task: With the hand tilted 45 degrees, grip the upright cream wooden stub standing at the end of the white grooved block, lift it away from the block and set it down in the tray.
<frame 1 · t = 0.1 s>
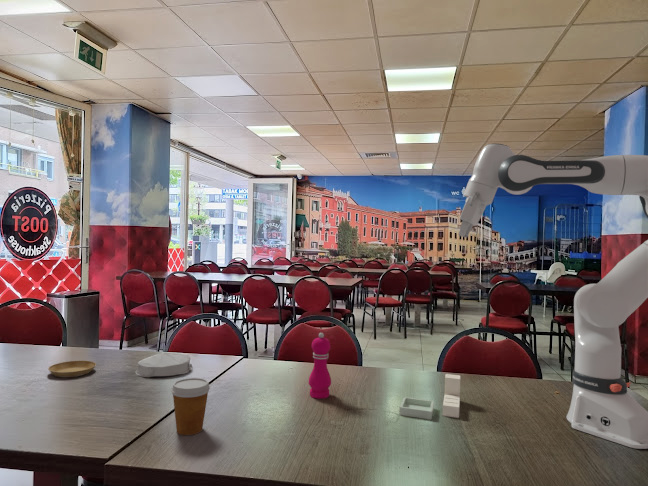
hand: (462, 236, 138), 52 cm above the table, tool tilted 20°, fingers open, 8 cm apart
plant saucer: (72, 373, 156), on the table
pepper mill: (319, 396, 140), on the table
stub tray: (416, 411, 129), on the table
disposable coffee cup: (189, 430, 112), on the table
white grooved block: (451, 410, 130), on the table
stub: (452, 401, 138), on the table
food container: (164, 371, 162), on the table
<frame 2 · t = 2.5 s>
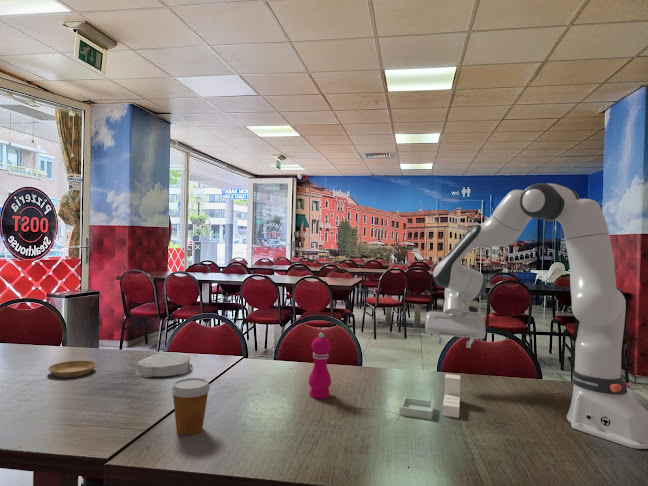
hand: (453, 345, 149), 15 cm above the table, tool tilted 45°, fingers open, 8 cm apart
nothing on the table moved.
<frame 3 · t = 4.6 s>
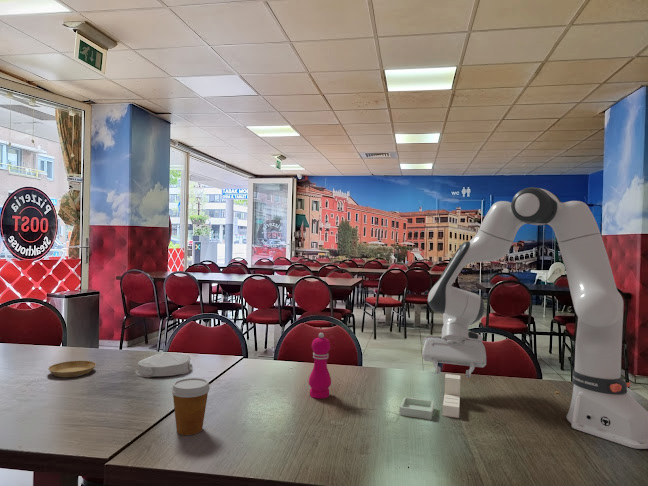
hand: (452, 374, 141), 8 cm above the table, tool tilted 45°, fingers open, 8 cm apart
nothing on the table moved.
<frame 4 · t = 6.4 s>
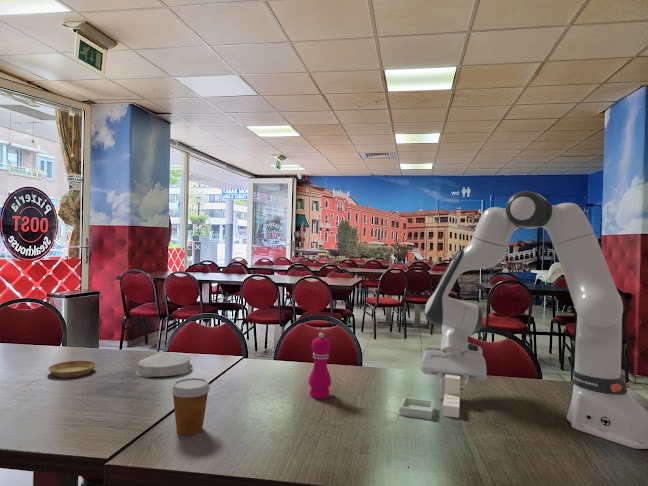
hand: (452, 388, 137), 4 cm above the table, tool tilted 45°, fingers closed on stub, 4 cm apart
stub: (452, 401, 138), on the table, touching gripper
everything else where it was.
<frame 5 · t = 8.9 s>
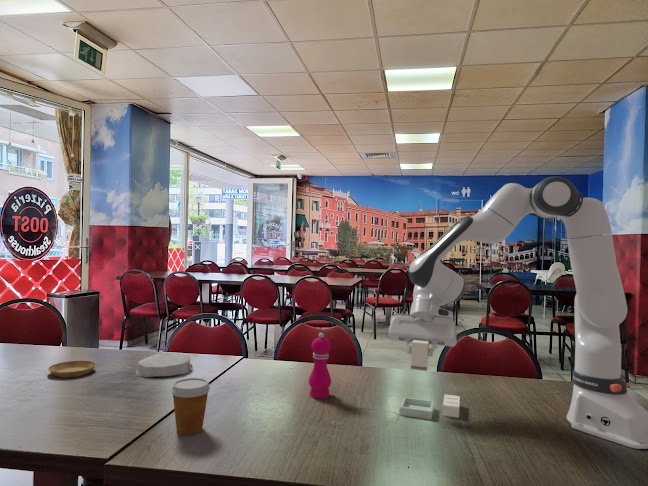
hand: (419, 354, 129), 17 cm above the table, tool tilted 45°, fingers closed on stub, 4 cm apart
stub: (419, 368, 130), point 12 cm above the table, touching gripper
everything else where it was.
when the fingers open (7 cm above the table, at t = 11.3 s): stub drops 2 cm, resting on stub tray.
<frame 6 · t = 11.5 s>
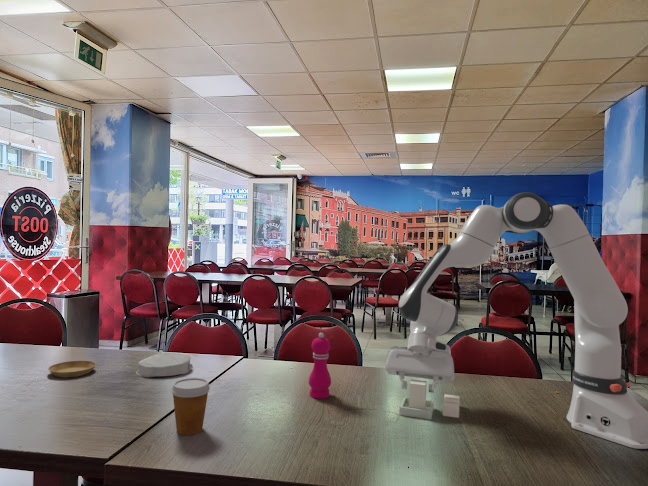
hand: (417, 389, 128), 7 cm above the table, tool tilted 45°, fingers open, 6 cm apart
stub: (417, 409, 129), point 1 cm above the table, touching stub tray
everything else where it was.
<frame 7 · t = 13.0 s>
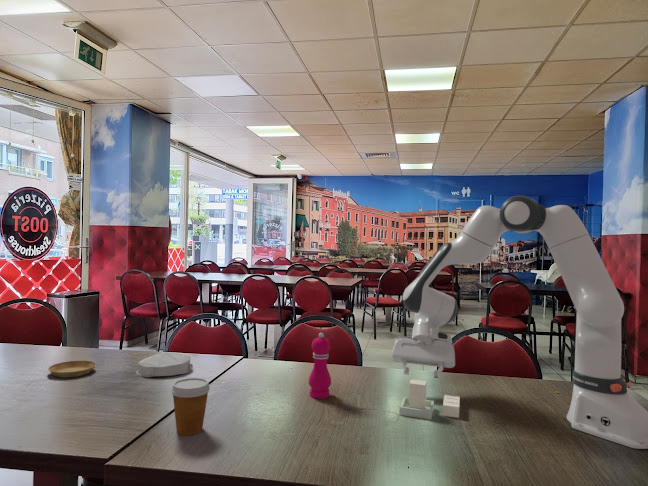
hand: (421, 375, 139), 7 cm above the table, tool tilted 45°, fingers open, 8 cm apart
nothing on the table moved.
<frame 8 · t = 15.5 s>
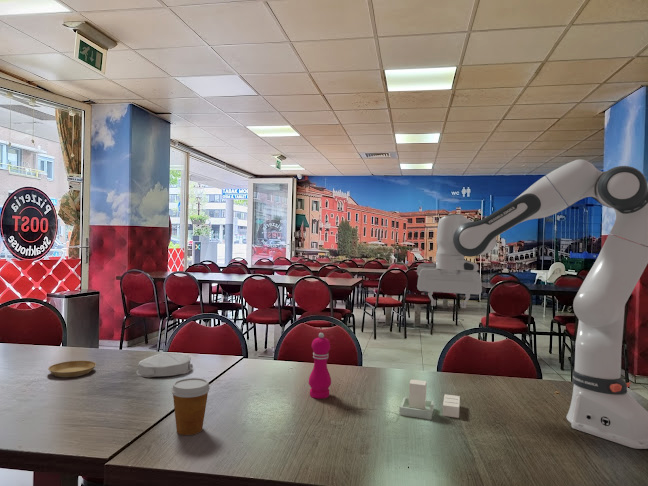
hand: (448, 306, 143), 29 cm above the table, tool pointing down, fingers open, 8 cm apart
nothing on the table moved.
at the end: stub 0.1 cm off-centre on the stub tray, point 0.6 cm above the stub tray's base; stub tilted 0°; stub touching stub tray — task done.
